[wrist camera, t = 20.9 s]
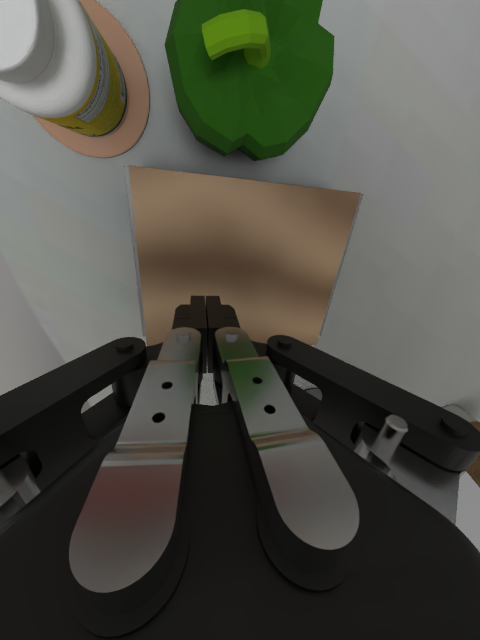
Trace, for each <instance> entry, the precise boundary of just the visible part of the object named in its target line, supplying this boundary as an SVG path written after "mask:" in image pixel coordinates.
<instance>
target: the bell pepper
mask: <svg viewBox="0 0 480 640" xmlns="http://www.w3.org/2000/svg"><path fill="white" fill-rule="evenodd" d="M322 1H323V0H177V1H176V2H175V6H174V10H173V14H172V18H171V22H170V26H169V30H168V34H167V38H166V42H165V48H166V53H167V58H168V63H169V67H170V72H171V77H172V82H173V87H174V91H175V96H176V101H177V105H178V108H179V111H180V113H181V115H182V116H183V118H184V120H185V121H186V123H187V125H188V126H189V128H190V129H191V131H192V133H193V134H194V136H195V138H196V139H197V140H198V141H200V142H201V143H203V144H205V145H206V146H208V147H210V148H211V149H213V150H215V151H216V152H218V153H220V154H221V155H223V156H226V155H228V154H229V153H231V152H233V151H235V150H236V149H238V148H239V149H240V150H241V151H242V152H243V153H245V154H246V155H247V156H248V157H249V158H251V159H252V160H253V161H256V160H261V159H266V158H272V157H276V156H279V155H283V154H284V153H285V152H286V151H287V150H288V149H289V148H290V147H291V146H292V145H293V144H294V143H295V142H296V141H297V140H298V139H299V138H300V137H301V136H302V135H304V134H305V133H306V132H307V131H308V129H309V127H310V125H311V123H312V121H313V119H314V116H315V114H316V112H317V110H318V108H319V106H320V104H321V102H322V100H323V98H324V96H325V94H326V92H327V90H328V88H329V86H330V83H331V79H332V75H333V56H334V36H333V35H332V34H331V33H329V32H328V31H327V30H326V29H324V28H323V27H322V26H320V25H319V24H318V20H319V15H320V11H321V6H322Z"/></svg>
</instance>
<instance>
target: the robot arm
mask: <svg viewBox="0 0 480 640" xmlns="http://www.w3.org/2000/svg"><path fill="white" fill-rule="evenodd" d="M207 366H208V373H213V388H214V393H215V398H216V403H217V405H215V406H209V405H201V404H200V394H201V381H202V378H203V373H206V371H207ZM295 374H296V375H298V376H300V377H302V378H303V379H305V380H307V381H309V382H310V383H312V384H314V385H316V386H317V387H318V388H319V389H310V390H306V391H304V390H303V389H301V388H299V387H298V386H296V385H294V384H293V383H294V378H295ZM111 384H112V389H113V393H112V394H110V395H109V396H107V397H106V398H104V399H103V400H101V401H100V402H98V403H97V404H95V405H94V406H92V407H91V408H89V409H88V410H87V411H85V412H83V413H82V414H81V408H82V406H83V404H84V403H85V402H86V401H87V400H88V399H89V398H90V397H92V396H93V395H95V394H97V393H98V392H100V391H101V390H103V389H104V388H106V387H107V386H109V385H111ZM479 455H480V432H479V431H478V430H477V429H476V428H475V427H474V426H473V425H472V424H471V423H469V422H468V421H466V420H465V419H463V418H462V417H460V416H458V415H456V414H454V413H452V412H450V411H448V410H446V409H444V408H441V407H439V406H437V405H435V404H433V403H431V402H429V401H427V400H424V399H422V398H420V397H418V396H416V395H414V394H412V393H410V392H407V391H405V390H403V389H401V388H399V387H397V386H395V385H393V384H390V383H388V382H386V381H384V380H382V379H380V378H378V377H376V376H373V375H371V374H369V373H367V372H365V371H363V370H361V369H359V368H356V367H354V366H352V365H350V364H348V363H346V362H344V361H342V360H339V359H337V358H335V357H333V356H331V355H329V354H327V353H325V352H322V351H320V350H318V349H316V348H314V347H312V346H310V345H308V344H305V343H303V342H301V341H299V340H297V339H295V338H293V337H290V336H286V335H274V336H271V337H270V338H269V339H268V340H267V344H265V343H259V342H255V341H252V340H250V338H249V336H248V334H247V333H246V332H245V331H244V330H242V329H241V328H240V325H239V321H238V318H237V315H236V312H235V309H234V308H233V307H232V306H230V305H221V301H220V296H206V299H205V296H192V295H191V300H190V304H180V305H179V306H178V307H177V308H176V309H175V315H174V320H173V326H172V330H171V331H169V332H168V333H167V335H166V337H165V340H164V342H162V343H159V344H156V345H151V346H147V347H146V345H145V342H144V341H143V340H142V339H139V338H135V337H125V338H120V339H116V340H114V341H112V342H110V343H108V344H105V345H103V346H101V347H99V348H97V349H95V350H93V351H91V352H89V353H87V354H85V355H83V356H81V357H79V358H77V359H75V360H73V361H71V362H69V363H66V364H64V365H62V366H60V367H58V368H57V369H54V370H52V371H51V372H48V373H46V374H44V375H42V376H40V377H38V378H36V379H34V380H32V381H30V382H27V383H26V384H23V385H21V386H19V387H17V388H15V389H13V390H11V391H9V392H7V393H5V394H3V395H1V396H0V640H480V552H479V551H478V550H477V548H476V547H475V546H474V545H473V544H472V543H471V541H470V540H469V539H468V538H467V537H466V536H465V535H464V534H463V533H462V532H461V531H460V530H459V529H458V528H457V527H456V526H455V523H456V511H457V499H458V487H459V478H460V477H461V476H462V475H463V474H464V472H465V471H466V470H467V469H468V468H469V466H470V465H471V464H472V463H473V462H474V461H475V459H476V458H477V457H478V456H479Z"/></svg>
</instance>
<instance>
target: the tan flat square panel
mask: <svg viewBox="0 0 480 640" xmlns="http://www.w3.org/2000/svg"><path fill="white" fill-rule="evenodd" d="M128 166H129V165H128ZM129 176H130V185H131V195H132V205H133V214H134V224H135V233H136V243H137V253H138V262H139V272H140V282H141V291H142V301H143V310H144V320H145V330H146V339H147V346H151V345H156V344H159V343H162V342H164V340H165V337H166V335H167V333H168V332H169V331H171V330H172V326H173V320H174V315H175V309H176V308H177V307H178V306H179V305H180V304H190V300H191V295H192V296H205V299H206V296H220V301H221V305H230V306H232V307H233V308H234V309H235V312H236V315H237V318H238V321H239V325H240V328H241V329H242V330H244V331H245V332H246V333H247V334H248V336H249V338H250V340H252V341H255V342H259V343H265V344H267V340H268V339H269V338H270V337H271V336H274V335H286V336H290V337H293V338H295V339H297V340H299V341H301V342H303V343H305V344H308V345H316V343H317V340H318V336H319V333H320V330H321V326H322V323H323V320H324V316H325V313H326V310H327V306H328V303H329V299H330V296H331V293H332V289H333V286H334V283H335V279H336V276H337V273H338V269H339V266H340V263H341V259H342V256H343V253H344V249H345V246H346V243H347V239H348V236H349V232H350V229H351V226H352V222H353V219H354V216H355V212H356V209H357V206H358V202H359V199H360V196H361V193H355V192H347V191H339V190H330V189H322V188H313V187H305V186H297V185H288V184H280V183H272V182H263V181H255V180H246V179H238V178H230V177H221V176H213V175H205V174H196V173H188V172H179V171H171V170H163V169H154V168H146V167H138V166H129Z"/></svg>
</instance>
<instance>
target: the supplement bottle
mask: <svg viewBox="0 0 480 640" xmlns="http://www.w3.org/2000/svg"><path fill="white" fill-rule="evenodd" d="M0 98H2V99H3V100H5V101H6V102H8V103H9V104H11V105H13V106H15V107H16V108H18V109H21V110H23V111H25V112H27V113H29V114H31V115H34V116H37V117H39V118H42V119H44V120H47V121H49V122H52V123H54V124H57V125H59V126H61V127H64V128H66V129H69V130H71V131H73V132H76V133H78V134H81V135H84V136H89V137H104V136H107V135H109V134H111V133H113V132H114V131H115V130H117V129H118V128H119V126H120V125H121V124H122V122H123V120H124V118H125V115H126V112H127V107H128V91H127V85H126V81H125V77H124V74H123V72H122V69H121V67H120V65H119V63H118V61H117V59H116V57H115V56H114V54H113V52H112V50H111V49H110V47H109V46H108V44H107V43H106V41H105V40H104V38H103V37H102V35H101V33H100V32H99V30H98V29H97V27H96V25H95V24H94V23H93V21H92V20H91V18H90V16H89V15H88V13H87V12H86V10H85V8H84V7H83V5H82V4H81V2H80V1H79V0H0Z"/></svg>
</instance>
